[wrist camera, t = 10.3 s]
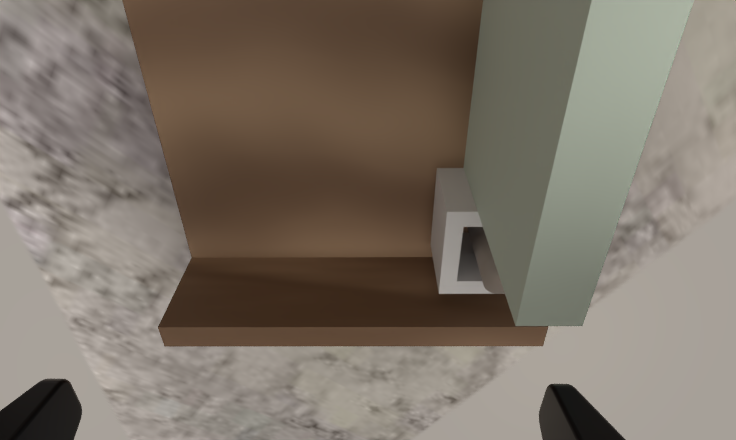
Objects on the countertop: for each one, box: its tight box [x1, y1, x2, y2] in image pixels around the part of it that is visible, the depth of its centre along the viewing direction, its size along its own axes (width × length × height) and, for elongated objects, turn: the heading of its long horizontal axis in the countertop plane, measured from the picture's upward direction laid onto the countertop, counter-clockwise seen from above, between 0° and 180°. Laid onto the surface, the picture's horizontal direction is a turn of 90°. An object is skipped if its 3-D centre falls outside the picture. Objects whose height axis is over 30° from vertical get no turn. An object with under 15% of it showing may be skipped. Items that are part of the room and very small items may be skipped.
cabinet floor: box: [122, 0, 548, 346], centre depth 15 cm, size 20×14×5 cm
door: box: [430, 0, 694, 326], centre depth 12 cm, size 18×4×8 cm, turn 0°
